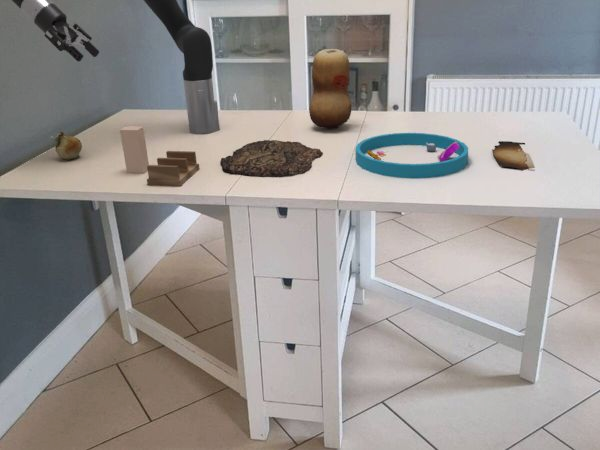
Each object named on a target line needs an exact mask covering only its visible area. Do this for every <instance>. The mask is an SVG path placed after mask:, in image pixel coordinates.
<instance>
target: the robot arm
mask: <svg viewBox="0 0 600 450" xmlns="http://www.w3.org/2000/svg"><path fill="white" fill-rule="evenodd" d="M11 1H12V2H13V3H14V4H15V5H16V6H17V7H18V8H19V9H20V10H21V11H22V12H23V13H24V14H25V15H26V17H27V18H28V19H29V20H30V21H32V23H34V25H36V26H37V27H38V28H39V30H41V31H42V32H43V34H44V37H45V38H46V39H47V40H48V41H49V42H50V43H51V44H52V45H53V47H55V48H56V49H57V50H58V51H59V52H63V51H64V52H65V53H68V54H70V56H71V57H72V58H73V59H74V60H76V61H77V62H81V61H82V60H83V58H84V55H83V53H82V52H80V51H79V50H78V48H77V47H75V46H74V45H77V46H78V45H79V46H81V47H83V48H84V49H85V50H86V51H87V52H88V53H89V54H90V55H91V57H93V58H95V57H98V55H99V54H100V50H99V49H98V48H97V47H96V46H95V45H94V44H93V43H92V42H91V41H92V39H93V38H92V36H91V35H89V34H88V33H87V32H86V31H85V30H84V29H83V28H82V27H81V26H80V25H79V24H77V23H74V24H73V25H70V24H69V23H68V22H67V18H68V17H67V14H66V13H64V12H63V10H61V9H60V8H59V7H58V6H57V5H56V4H55V3H54V2H53V1H52V0H11ZM143 1H144V3H145V4H146V5H147V6H148V7H149V9H150V10H151V11H152V13H154V15H155V16H156V17H157V18H158V19H159V20H160V22H161V23H162V24H163V25H164V27H165V28H166V30H167V32H168V33H169V35H170V36H171V38H172V40H173V42H174V43H175V45H176V47H177V49H178V50H180V53H183V60H184V68H183V71H182V79H183V86H184V96H185V97H184V98H185V104H186V105H185V106H186V112H187V121H188V122H187V123H188V129H189V133H191V134H196V135H198V134H199V135H203V134H204V135H205V134H210V133H213V132H216V131H219V130H220V129H221V128H220V120H219V111H218V110H219V109H218V108H219V107H218V102H217V100H215V93H214V83H213V73H212V72H213V69H214V64H213V62H214V60H213V58H214V57H213V47H212V46H213V45H212V39H211V37H210V35H209V33H208V32H207V31H206V30H205V29H203V28H201V27H199V26H196V25H195V24H194V23H193V22H192V21H191V20H190V19H189V17H188V16H187V15H186V14H185V13H184V11H183V10H182V8H181V7H180V4H179V3H178V0H143ZM58 43H59V44H58Z"/></svg>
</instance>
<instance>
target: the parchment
mask: <svg viewBox="0 0 600 450" xmlns="http://www.w3.org/2000/svg"><path fill="white" fill-rule="evenodd" d="M497 144H498V145H495V146H494V149H492V150H491V151H492V156H493V157H494V159H496V161H497V163H498V164H499V166H500V167H501V168H504V167H505V168H506V167H507V168H516V169H519V170H520V171H522V172H523V171H526V170H527V171H530V170H532V169H535V168H536V166H535V164H534V162H533V159H532V157H531V155H530V153H527V152H526V151H524V150H523V148H522V146H521V145H523V146H524V145H526V143H525V142H516V141H506V140H505V141H504V140H503V141H502V140H501V141H498V142H497Z"/></svg>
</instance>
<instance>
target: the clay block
mask: <svg viewBox="0 0 600 450" xmlns="http://www.w3.org/2000/svg"><path fill="white" fill-rule="evenodd" d="M119 132H120V133H119V134H120V138H121V145H122V151H123V157H124V164H125V168H126V173H127V174H143V175H144V174H146V173H148V170H147V166H148V165H150V164H149V155H148V150H147V143H146V136H145V130H144V126H133V125H132V126H131V125H130V126H124V127H122V128H121V129H119Z"/></svg>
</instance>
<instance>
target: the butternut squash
mask: <svg viewBox="0 0 600 450" xmlns="http://www.w3.org/2000/svg"><path fill="white" fill-rule="evenodd" d="M312 61H313V62H312V72H311V79H312V88H313V95H312V98H311V100H310V104H309V109H308V110H309V112H308V113H309V118H310V120H311V122H312V123H313V124H314V125H315V126H317V127H319V128H322V129H328V130H331V129H332V130H333V129H338V128H339V127H341V126H343V125H344V124H345V123H347V122H348V120H350V117H351V114H352V101H351V97H350V95H349V91H348V88H349V85H350V84H349V83H350V81H351V80H350V79H351V78H350V59H349V56H348V55H347V54H346V53H345V52H344V51H343V50H342V49H336V48H325V49H322V50H320V51H318V52H317V53H316V54H315V55H314V58H313V59H312Z"/></svg>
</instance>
